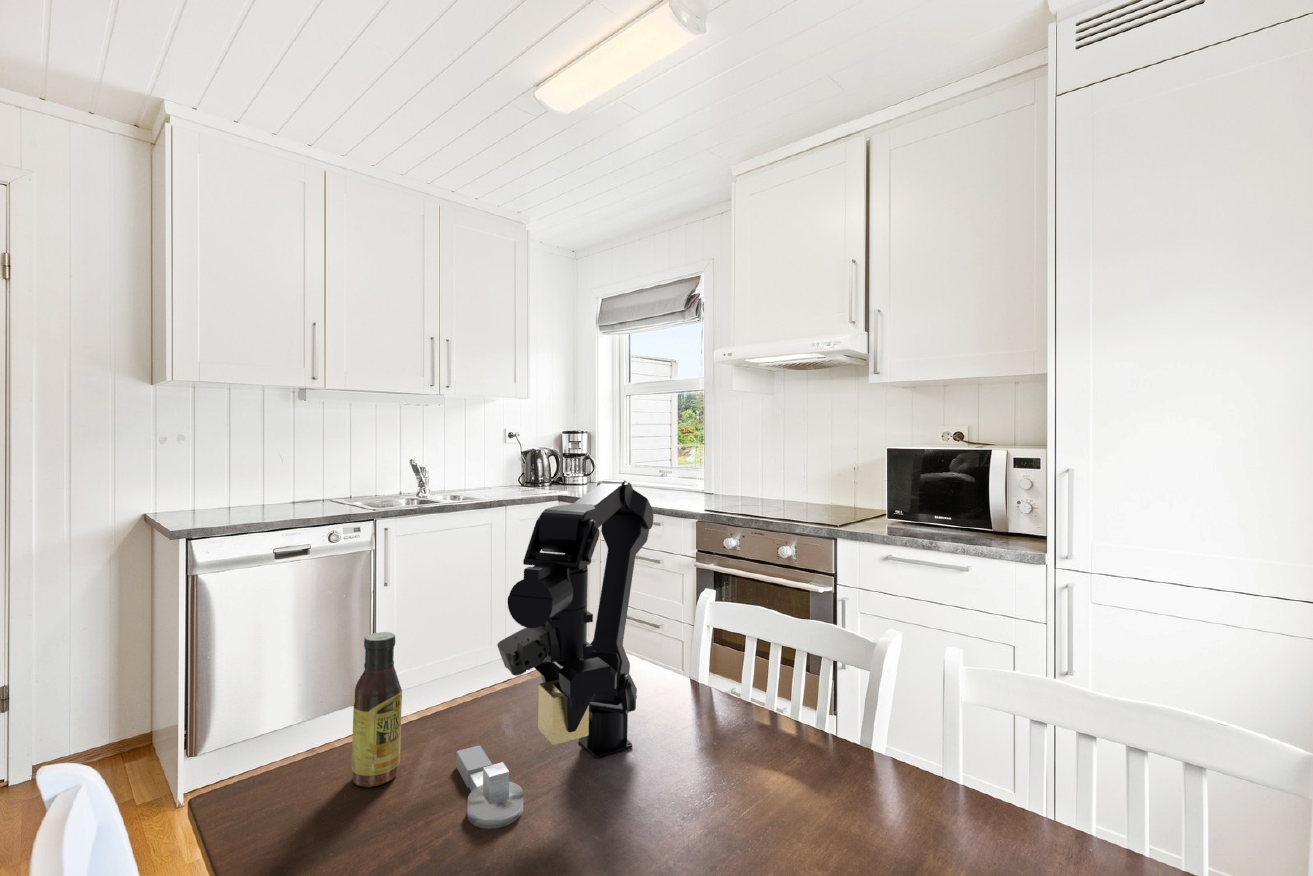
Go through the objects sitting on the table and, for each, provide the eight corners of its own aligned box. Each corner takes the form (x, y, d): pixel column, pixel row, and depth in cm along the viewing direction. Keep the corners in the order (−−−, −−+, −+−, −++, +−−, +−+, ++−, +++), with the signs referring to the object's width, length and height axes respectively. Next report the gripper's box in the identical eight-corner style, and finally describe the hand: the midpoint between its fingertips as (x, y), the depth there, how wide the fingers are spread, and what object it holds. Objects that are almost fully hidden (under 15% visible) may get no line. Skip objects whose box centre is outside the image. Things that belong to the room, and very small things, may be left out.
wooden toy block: (572, 720, 86) (573, 676, 86) (588, 735, 82) (589, 690, 82) (538, 728, 83) (538, 683, 83) (552, 745, 79) (553, 698, 79)
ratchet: (531, 817, 80) (531, 775, 80) (476, 835, 76) (476, 791, 76) (491, 758, 94) (492, 721, 94) (443, 771, 90) (444, 733, 90)
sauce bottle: (381, 793, 85) (383, 646, 84) (341, 786, 86) (342, 642, 85) (410, 767, 91) (411, 631, 91) (371, 761, 92) (373, 627, 92)
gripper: (483, 595, 86) (481, 708, 86) (532, 635, 70) (530, 773, 70) (559, 586, 92) (557, 691, 92) (620, 620, 76) (617, 748, 76)
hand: (563, 722), depth 83 cm, fingers closed on wooden toy block, 5 cm apart
